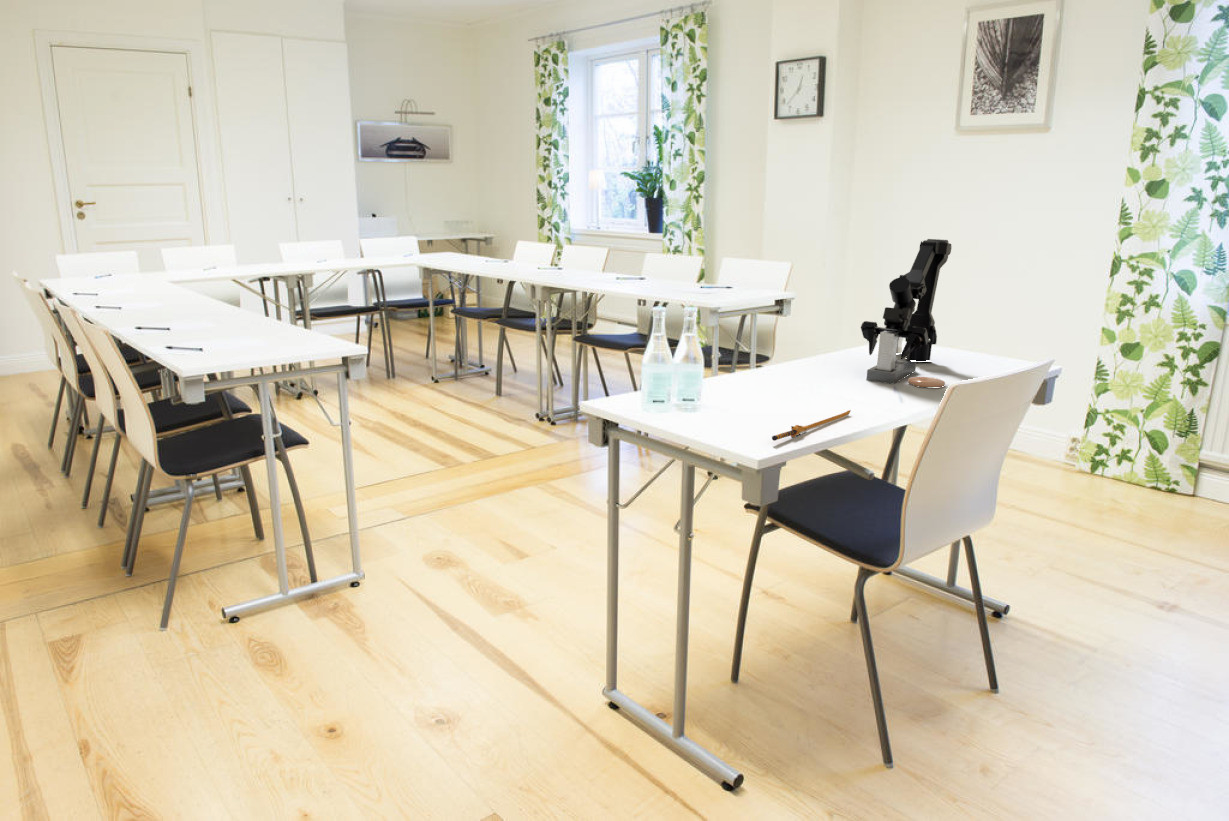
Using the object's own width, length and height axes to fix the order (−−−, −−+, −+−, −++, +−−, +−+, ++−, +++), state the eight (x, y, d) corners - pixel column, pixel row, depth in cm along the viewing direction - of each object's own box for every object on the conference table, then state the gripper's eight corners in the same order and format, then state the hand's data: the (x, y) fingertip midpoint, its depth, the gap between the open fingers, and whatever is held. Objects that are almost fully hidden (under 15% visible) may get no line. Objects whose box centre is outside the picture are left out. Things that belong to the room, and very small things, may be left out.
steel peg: (880, 377, 254) (884, 330, 250) (893, 379, 252) (898, 332, 248) (875, 379, 251) (880, 332, 247) (889, 381, 248) (894, 334, 245)
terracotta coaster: (935, 380, 251) (936, 377, 251) (950, 388, 242) (951, 385, 241) (902, 380, 251) (902, 376, 250) (916, 388, 241) (916, 384, 241)
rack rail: (889, 368, 266) (890, 358, 266) (915, 371, 262) (916, 361, 261) (866, 379, 250) (867, 369, 249) (893, 383, 246) (894, 373, 245)
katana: (851, 419, 212) (852, 409, 211) (776, 444, 187) (777, 432, 186) (846, 419, 213) (847, 408, 212) (771, 442, 188) (772, 431, 187)
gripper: (866, 294, 253) (849, 335, 247) (930, 300, 243) (914, 343, 237) (872, 317, 261) (856, 358, 256) (934, 324, 251) (919, 366, 245)
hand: (885, 356), depth 248 cm, fingers open, 9 cm apart
